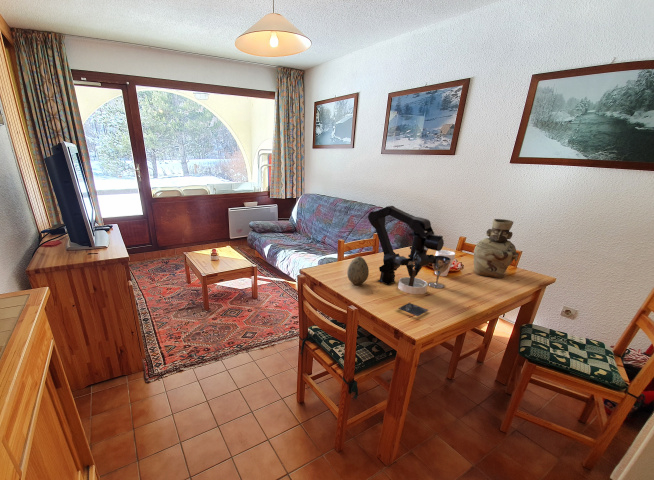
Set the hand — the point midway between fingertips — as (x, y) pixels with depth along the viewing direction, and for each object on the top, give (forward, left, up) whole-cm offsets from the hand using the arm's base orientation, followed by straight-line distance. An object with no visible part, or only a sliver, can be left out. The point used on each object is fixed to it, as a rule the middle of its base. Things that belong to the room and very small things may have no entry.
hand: (412, 276), depth 153 cm
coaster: (+13, -21, -7) cm, 26 cm away
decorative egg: (-22, -15, -8) cm, 27 cm away
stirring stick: (0, 0, -7) cm, 6 cm away
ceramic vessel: (+15, +58, -8) cm, 61 cm away
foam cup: (-1, +34, -8) cm, 35 cm away
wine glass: (+5, +16, -8) cm, 19 cm away
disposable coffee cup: (-19, +41, -8) cm, 46 cm away
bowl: (+1, -1, -7) cm, 8 cm away
